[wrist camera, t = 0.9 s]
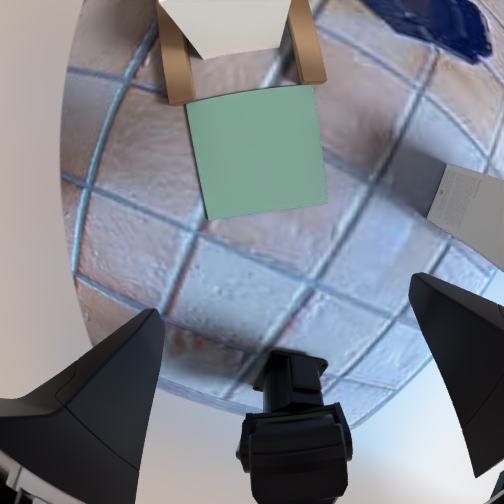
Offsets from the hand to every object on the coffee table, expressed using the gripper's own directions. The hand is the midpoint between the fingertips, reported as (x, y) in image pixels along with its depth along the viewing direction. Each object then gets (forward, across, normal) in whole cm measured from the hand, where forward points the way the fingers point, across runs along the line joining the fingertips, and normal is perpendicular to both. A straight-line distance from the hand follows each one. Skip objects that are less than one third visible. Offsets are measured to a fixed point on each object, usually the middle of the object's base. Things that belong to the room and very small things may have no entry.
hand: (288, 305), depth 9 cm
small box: (+13, -18, +2) cm, 22 cm away
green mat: (+13, 0, -4) cm, 13 cm away
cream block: (+13, 0, -14) cm, 19 cm away
